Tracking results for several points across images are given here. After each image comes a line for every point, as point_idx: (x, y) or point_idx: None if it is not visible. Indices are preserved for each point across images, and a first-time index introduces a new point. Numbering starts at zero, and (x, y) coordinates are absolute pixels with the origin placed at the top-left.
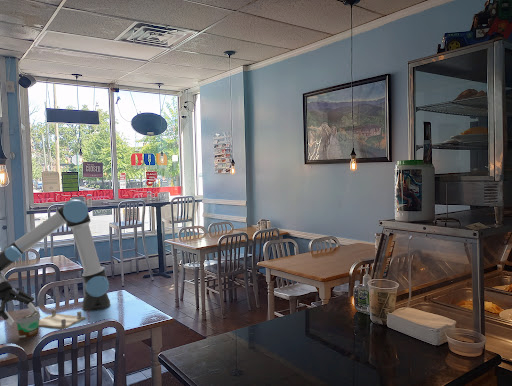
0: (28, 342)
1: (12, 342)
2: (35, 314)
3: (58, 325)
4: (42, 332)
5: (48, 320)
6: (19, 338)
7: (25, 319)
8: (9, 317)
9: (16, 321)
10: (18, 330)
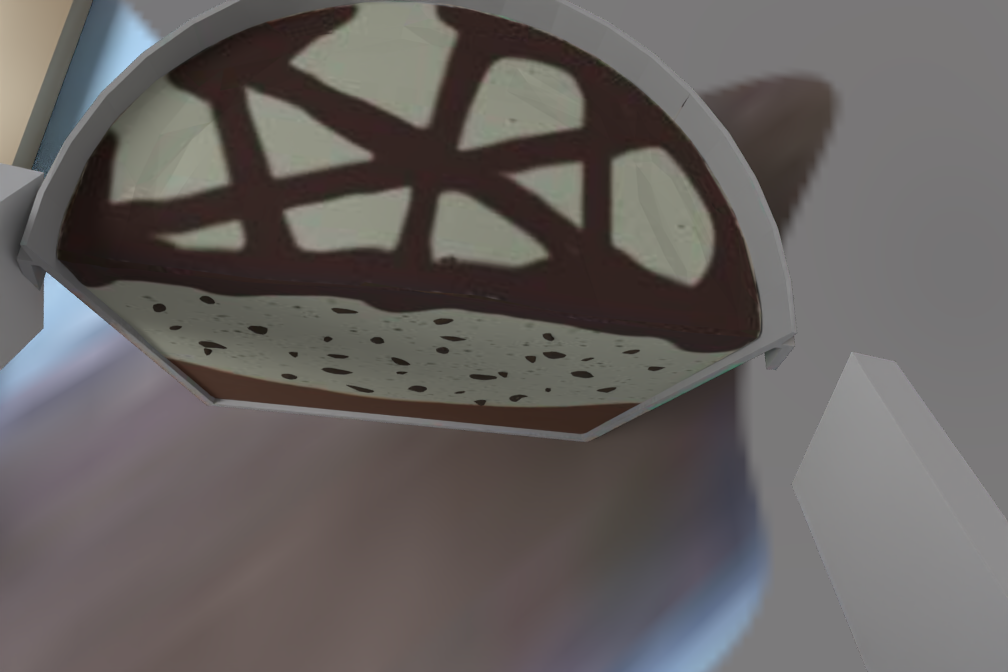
0: None
1: (741, 461)
2: (251, 120)
3: (14, 14)
4: None
5: None
6: (590, 438)
7: (701, 129)
8: (968, 473)
9: (787, 345)
10: (652, 402)
